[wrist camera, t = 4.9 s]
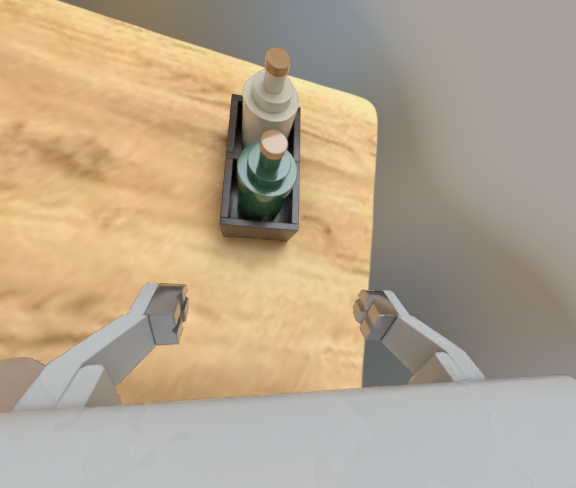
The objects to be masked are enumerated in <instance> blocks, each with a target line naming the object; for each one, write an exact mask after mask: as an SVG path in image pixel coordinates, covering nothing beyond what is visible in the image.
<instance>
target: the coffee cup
mask: <svg viewBox="0 0 576 488" xmlns="http://www.w3.org/2000/svg"><path fill="white" fill-rule="evenodd" d="M43 368H44V366H43V365H42V364H41V363H40V362H38V361H36V360H33V359H29V358H12V359H7V360H3V361H0V413H8V412H10V411H11V410H12V409H13V407H14V406H15V405H16V403H17V402H18V401H19V400H20V398H21V397H22V396H23V394H24V393H25V392H26V390H27V389H28V388H29V387H30V385H31V384H32V383H33V381H34V380H35V379H36V377H37V376H38V375H39V374H40V372H41V371H42V370H43Z"/></svg>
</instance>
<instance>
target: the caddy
mask: <svg viewBox="0 0 576 488" xmlns="http://www.w3.org/2000/svg"><path fill="white" fill-rule="evenodd" d="M242 105H243V96H241V95H236V94H232V98H231V108H230V119H229V129H228V140H227V152H226V161H225V172H224V183H223V194H222V204H221V215H220V217H221V218H220V226H221V230H222V233H223V236H224V237H238V238H251V239H265V240H279V241H288V240H289V239H290V238H291V237H292V236H293V235H294V234H295V233H296V232H297V231H298V224H299V164H300V163H299V162H300V108H299V107H298V110H297V113H296V116H295V119H294V122H293V125H292V128H291V131H290V134H289V137H288V140H287V141H288V148H287V150H288V151H289V152H290V154H291V155H292V156H293V158H294V160H295V162H296V165H297V172H298V173H297V179H296V182H295V184H294V186H293V188H292V190H291V191H290V193H289V195H288V197H287V199H286V201H285V203H284V204H283V206H282V208H281V210H280V212H279V214H278V216H277V217H276V219H275V220H274V221H273V222H267V221H256V220H246V219H242V218H241V216H240V215H239V212H238V208H237V160H238V157H239V155H240V153H241V149H242Z"/></svg>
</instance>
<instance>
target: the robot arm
mask: <svg viewBox="0 0 576 488" xmlns="http://www.w3.org/2000/svg"><path fill="white" fill-rule="evenodd" d="M187 291H188V290H187V285H185V284H166V283H146V284H145V285H144V286H143V287H142V289H141V291H140V293H139V294H138V296H137V298H136V299H135V301H134V303H133V305H132V306H131V308H130V310H129V312H128V313H127V315H121V316H120V317H118V318H117V319H115V320H114V321H112V322H111V323H109V324H108V325H106V326H105V327H103V328H102V329H100V330H99V331H97V332H96V333H94V334H92V335H91V336H89V337H88V338H86V339H85V340H83V341H82V342H80V343H79V344H77V345H76V346H74V347H73V348H71V349H70V350H68V351H67V352H65V353H63V354H62V355H60V356H59V357H57V358H56V359H54V360H53V361H51V362H50V363H48V364H47V365H46V366H45V367H44V368H43V370H42V371H41V372H40V374H39V375H38V376H37V377H36V379H35V380H34V381H33V383H32V384H31V385H30V387H29V388H28V389H27V390H26V392H25V393H24V394H23V396H22V397H21V398H20V400H19V401H18V402H17V403H16V405H15V406H14V407H13V409H12V410H11V411H10V412H8V413H0V488H576V380H575V379H573V378H571V377H569V376H565V375H561V374H553V375H539V376H525V377H510V378H496V379H487V378H486V377H485V376H484V375H483V374H482V373H481V371H480V370H479V369H478V367H477V366H476V365H475V364H474V363H473V361H471V359H470V358H469V357H468V355H467V354H466V353H465V352H464V351H463V350H462V349H460V348H459V347H457V346H456V345H455V344H453V343H452V342H450V341H448V340H447V339H445V338H444V337H443V336H441V335H440V334H438V333H437V332H435V331H434V330H432V329H431V328H429V327H428V326H427V325H425V324H424V323H422V322H420V321H419V320H418V319H416V318H415V317H413V316H410V315H409V314H408V313H407V311H406V310H405V308H404V307H403V306H402V304H401V303H400V301H399V300H398V299H397V297H396V296H395V294H394V293H393V292H392V291H390V290H362V291H360V293H359V295H358V296H359V299H358V300H357V301H355V303H354V306H353V314H354V317H355V319H356V321H357V322H359V323H360V330H361V332H362V335H363V337H364V339H365V340H381V342H382V343H383V344H384V345H385V346H386V347H387V348H388V349H389V350H390V351H391V352H392V353H393V354H394V355H395V356H396V357H397V358H398V359H399V360H400V361H401V362H402V363H403V364H404V365H405V366H406V367H407V368H408V369H409V370H410V371H411V372H412V373H413V374H414V376H413V377H412V378H411V380H410V381H409V385H397V386H382V387H367V388H353V389H338V390H323V391H309V392H295V393H280V394H266V395H252V396H237V397H223V398H209V399H194V400H180V401H166V402H152V403H137V404H123V403H122V401H121V399H120V397H119V395H118V393H117V391H116V389H115V387H116V386H117V385H118V384H119V383H120V382H121V381H122V380H123V379H124V378H125V377H126V376H127V375H128V374H129V373H130V372H131V371H132V370H133V369H134V368H135V367H136V366H137V365H138V364H139V363H140V362H141V361H142V360H143V359H144V358H145V357H146V356H147V355H148V354H149V353H150V352H151V351H152V350H153V349H154V348H155V345H173V344H179V341H180V338H181V335H182V331H183V325H182V323H183V322H184V321H186V318H187V314H188V308H189V301H188V298H187V297H186V294H187ZM122 404H123V405H122Z"/></svg>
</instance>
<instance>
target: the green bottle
mask: <svg viewBox="0 0 576 488" xmlns="http://www.w3.org/2000/svg"><path fill="white" fill-rule="evenodd" d="M287 148H288V141H287V138H286V136H285V135H284V134H283V133H281V132H280V131H277V130H268V131H266V132H265V133H264V134H263V135H262V137H261V141H258V142H254V143H252V144H250V145H248V146H247V147H246V148H244V149H243V151H242V152H241V153H240V155H239V157H238V160H237V208H238V212H239V215H240V216H241V218H242V219H246V220H256V221H267V222H273V221H274V220H275V219H276V217H277V216H278V214H279V212H280V210H281V208H282V206H283V204H284V203H285V201H286V199H287V197H288V195H289V193H290V191H291V190H292V188H293V186H294V184H295V182H296V179H297V173H298V172H297V165H296V162H295V160H294V158H293V156H292V155H291V154H290V152H289V151H288V150H287Z"/></svg>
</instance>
